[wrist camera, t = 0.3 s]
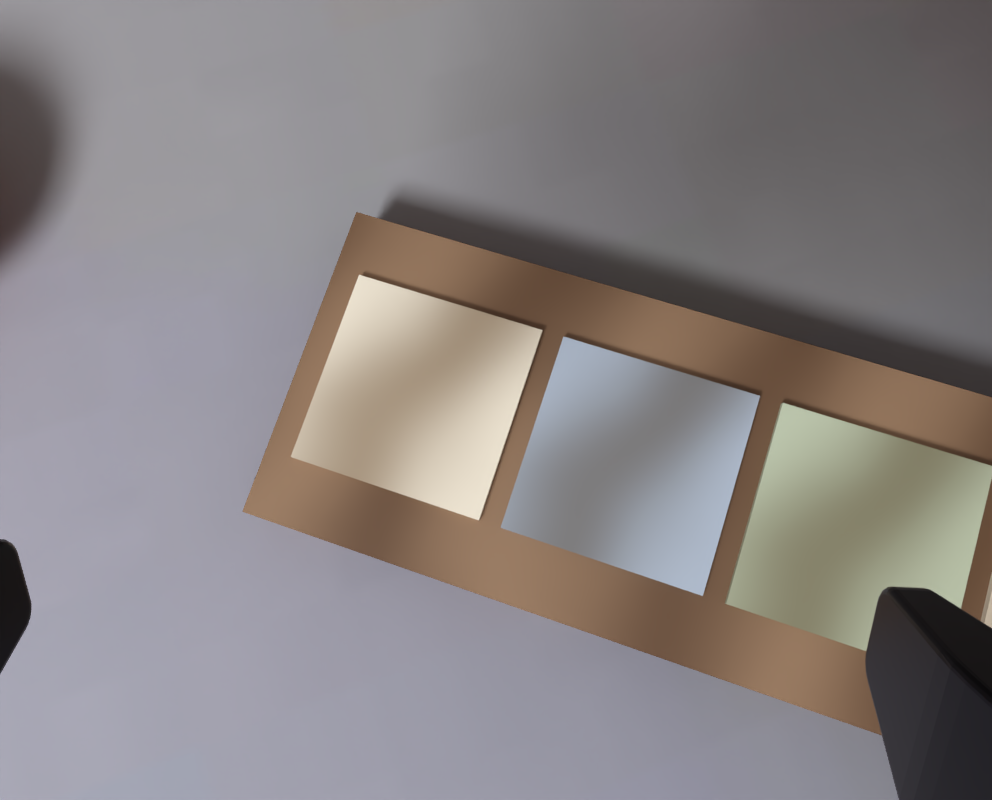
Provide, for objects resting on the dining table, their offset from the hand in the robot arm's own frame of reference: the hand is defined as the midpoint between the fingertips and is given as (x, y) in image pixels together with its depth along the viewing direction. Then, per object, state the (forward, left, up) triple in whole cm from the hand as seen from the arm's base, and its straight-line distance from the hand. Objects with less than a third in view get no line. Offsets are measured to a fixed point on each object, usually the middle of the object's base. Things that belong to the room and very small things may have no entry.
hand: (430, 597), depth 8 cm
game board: (-1, -6, -15) cm, 16 cm away
